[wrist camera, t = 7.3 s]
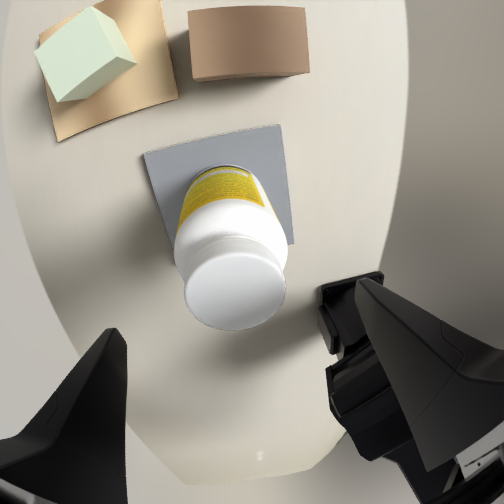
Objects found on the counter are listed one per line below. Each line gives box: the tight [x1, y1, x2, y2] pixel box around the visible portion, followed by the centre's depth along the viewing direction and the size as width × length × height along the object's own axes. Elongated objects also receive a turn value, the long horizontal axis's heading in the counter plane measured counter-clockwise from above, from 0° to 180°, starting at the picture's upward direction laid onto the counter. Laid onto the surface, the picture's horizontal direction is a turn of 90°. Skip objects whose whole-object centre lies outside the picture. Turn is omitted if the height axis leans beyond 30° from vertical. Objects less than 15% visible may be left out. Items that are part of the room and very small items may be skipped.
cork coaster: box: [39, 0, 179, 142], centre depth 12 cm, size 9×9×1 cm
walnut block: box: [188, 6, 310, 82], centre depth 12 cm, size 6×4×4 cm, turn 94°
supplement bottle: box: [174, 164, 287, 331], centre depth 15 cm, size 5×5×10 cm
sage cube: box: [34, 6, 137, 102], centre depth 11 cm, size 4×4×4 cm
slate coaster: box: [143, 124, 294, 251], centre depth 19 cm, size 9×9×1 cm
